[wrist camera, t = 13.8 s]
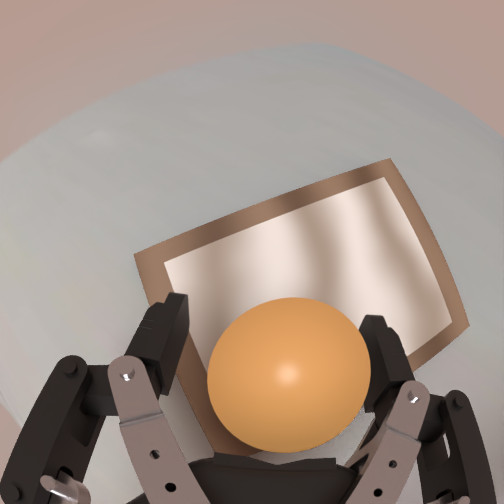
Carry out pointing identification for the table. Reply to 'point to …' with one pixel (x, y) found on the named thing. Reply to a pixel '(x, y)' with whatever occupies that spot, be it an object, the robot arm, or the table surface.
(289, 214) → the clipboard
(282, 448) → the orange and grey cylinder
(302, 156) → the table surface
